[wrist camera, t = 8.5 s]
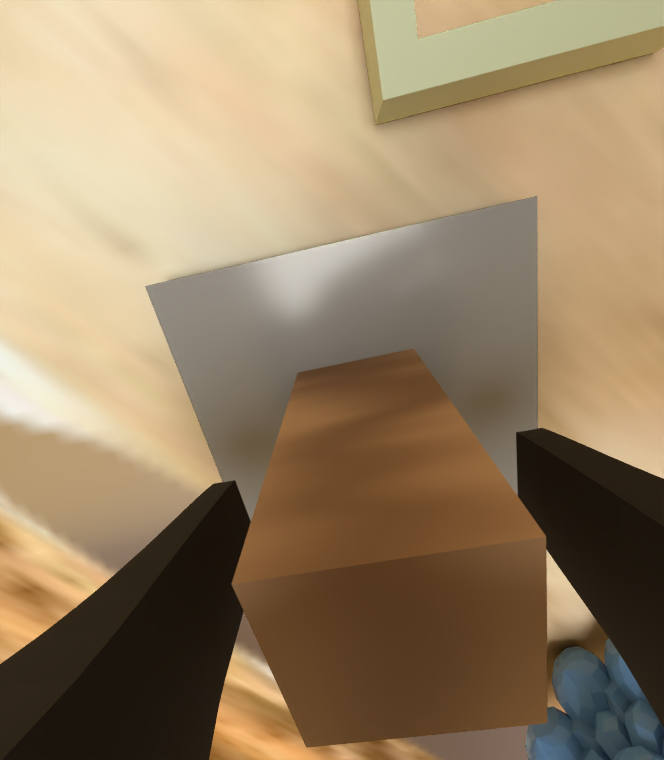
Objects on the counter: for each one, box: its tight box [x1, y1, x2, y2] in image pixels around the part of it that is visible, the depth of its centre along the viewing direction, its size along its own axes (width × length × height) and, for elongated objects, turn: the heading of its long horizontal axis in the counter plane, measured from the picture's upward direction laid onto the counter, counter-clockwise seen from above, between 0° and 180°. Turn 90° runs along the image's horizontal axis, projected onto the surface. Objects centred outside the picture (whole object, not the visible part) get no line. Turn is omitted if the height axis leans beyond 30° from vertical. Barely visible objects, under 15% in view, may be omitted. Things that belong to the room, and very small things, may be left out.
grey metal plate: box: [145, 196, 538, 521], centre depth 13 cm, size 12×12×2 cm
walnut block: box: [232, 348, 547, 747], centre depth 9 cm, size 4×4×8 cm
